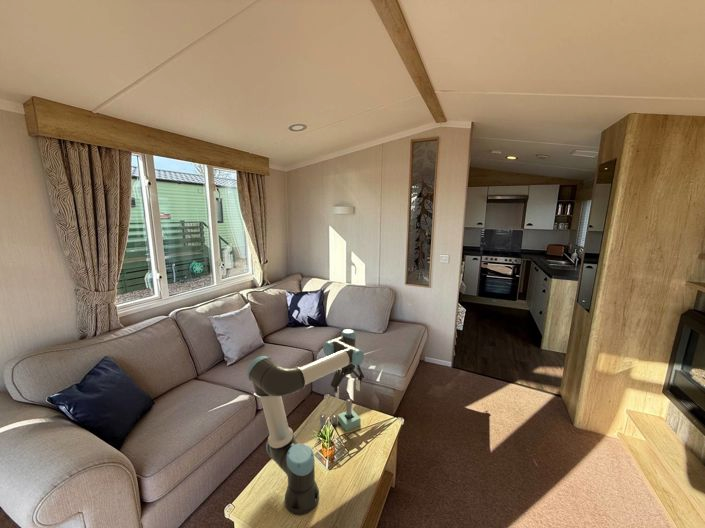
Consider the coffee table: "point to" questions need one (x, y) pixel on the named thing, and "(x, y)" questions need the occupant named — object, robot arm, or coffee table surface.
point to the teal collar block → (351, 422)
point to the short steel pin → (334, 419)
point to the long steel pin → (348, 409)
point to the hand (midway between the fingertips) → (347, 393)
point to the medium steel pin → (322, 421)
